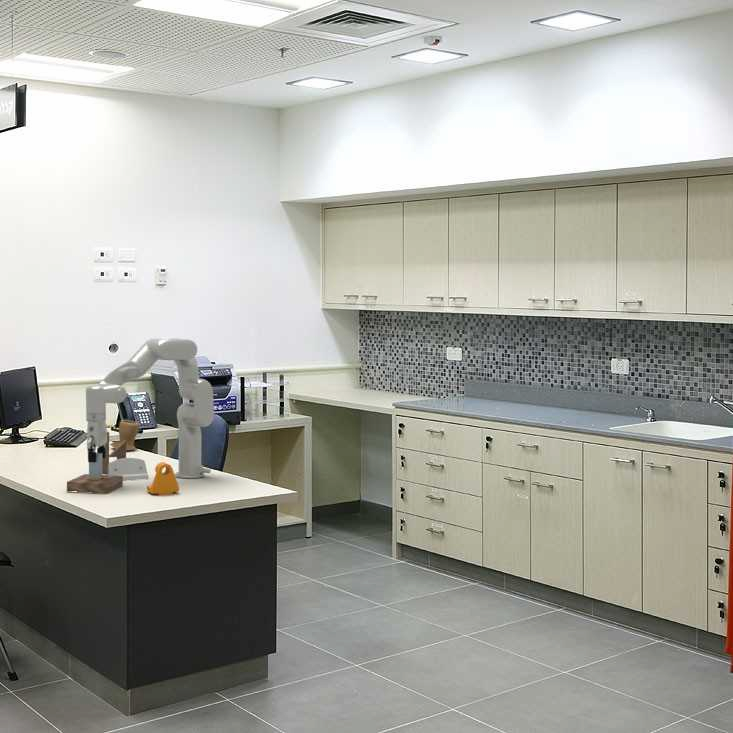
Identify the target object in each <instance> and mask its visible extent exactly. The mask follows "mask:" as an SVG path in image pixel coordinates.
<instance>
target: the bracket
mask: <svg viewBox="0 0 733 733" xmlns="http://www.w3.org/2000/svg"><path fill="white" fill-rule="evenodd" d="M164 468H165V470H164ZM154 470H155V475H154V477H153V480H152V483H151V485H147V486H146V492H148V493H150V494H152V495H153V494H156V495H158V496H164V495H165V496H166V495H173V493H177V492H179V491H180V486H179V483H178V480H177V477H175V472H174V469H173V467H172V466H171V465H170V464H168V463H166V462H158V463H157V464H156V466H155V468H154ZM163 470H164V472H163Z"/></svg>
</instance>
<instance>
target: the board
mask: <svg viewBox="0 0 733 733" xmlns="http://www.w3.org/2000/svg"><path fill="white" fill-rule="evenodd" d="M102 477H103V478H102V479H101V480H89V473H84V474H82V475H80V476H78V477H75V478H73V479H72V478H71V480H68V481H66V492H67V491H77V492H92V493H91V494H97V493H105V494H104V495H107V493H108V494H110V493H112V492H113V491H115V490H117V489H119V488H120V487H123V486H124V484H123V483H124V481H123V476H116V475H108V474H102Z"/></svg>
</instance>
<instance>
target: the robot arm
mask: <svg viewBox="0 0 733 733" xmlns="http://www.w3.org/2000/svg"><path fill="white" fill-rule="evenodd" d="M197 353H198V347H197V344H196V343H195V341H194V340H191V339H187V338H186V339H185V338H169V339H165V338H164V339H162V338H151V339H148V340H146V341H145V342H144V344H142V345H141V347H140V348H139V349H138V350H137V351H136V352H135V353H134V354H133V355H132V356H131V357H130V359H129V360H127V361H126V362H125V363H122V364H121V365H119V366H118V367H117V368H115V369H113V370H112V371H110V372H109V373H108V374H107V375H106V376H105V377H104V378H103V379H102V380H101V381H100V382H99V383H98V384H97V385H89V386H87V387H85V388H86V389H85V416H86V417H85V420H86V422H87V427H86V429H87V431H86V448H87V462H88V463H89V462H96V453H102V458H105V447H106V445H105V444H106V443H107V432H108V431H107V429H108V428H107V410H106V409H107V407H106V406H107V404H121V403H122V402H124V401H125V400H126V398H127V396H128V393H127V392H128V391H127V389H126V388H125V386H123V385H124V384H126V383H128V382H130V381H134V380H137V379H140V378H142V377H143V376H145V374H146V373H147V372H148V371H149V370H150V369H151V368H152V367H153V366H154V364H155V363H156V362H158V360H161V361H174V363H175V365H176V367H177V374H178V375H177V376H178V392H179V396H180V397H181V398H182V399H184V400H189V401H193V402H184V403H182V404H181V405H179V406H178V408H177V412H176V418H177V419H176V420H177V424H178V425H177V426H178V471H177V472H174V474H175V477H176V478H178V477H179V479H200V477H201V478H203V477H205V475H206V474H211V472H212V470H211V468H209V467H208V468H207V467H204V465H203V464H202V430H201V428H205V427H209V426H210V425H211V424H212V422H213V420H214V415H215V414H214V413H215V411H214V410H215V409H214V391H213V387H212V384H211V383H210V381H208V380H206V379H204V378H200V376H199V367H198V366H199V364H198V362H197V359H196V357H195V356H197ZM96 451H97V452H96Z"/></svg>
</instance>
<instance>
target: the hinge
mask: <svg viewBox="0 0 733 733" xmlns="http://www.w3.org/2000/svg"><path fill="white" fill-rule="evenodd" d="M146 465H147V464H146V461H145V460H144V459H141V458H135V457H126V458H122V459H117V458H116V459H115V460H112V461H109V464H108V474H107V475H116V476H123V482H126V481H125V480H131V481H139V479H146V480H149V478H150V477H149V474H148V470H147V466H146ZM137 479H138V480H137Z"/></svg>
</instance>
